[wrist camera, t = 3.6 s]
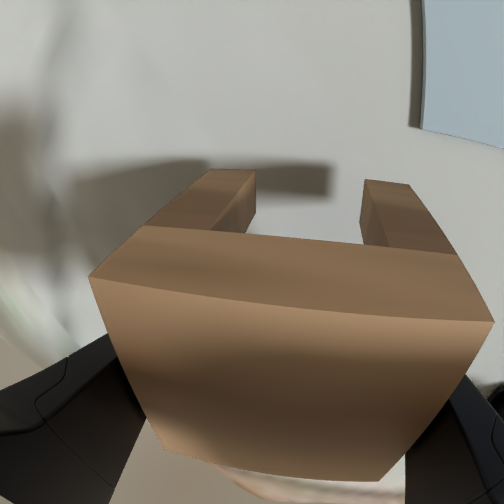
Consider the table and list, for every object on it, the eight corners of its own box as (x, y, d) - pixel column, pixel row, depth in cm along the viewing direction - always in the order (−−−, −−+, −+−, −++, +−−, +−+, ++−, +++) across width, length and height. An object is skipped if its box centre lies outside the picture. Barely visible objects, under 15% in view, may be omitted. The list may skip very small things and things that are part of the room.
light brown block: (373, 335, 12) (378, 481, 7) (222, 318, 14) (164, 449, 8) (409, 184, 9) (494, 321, 4) (211, 168, 10) (87, 276, 5)
